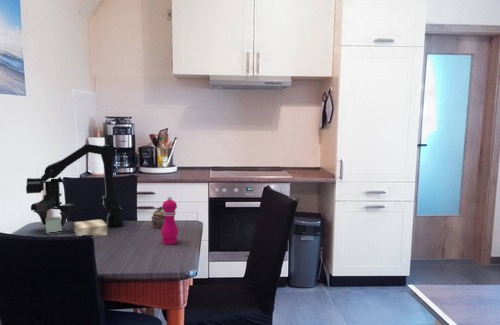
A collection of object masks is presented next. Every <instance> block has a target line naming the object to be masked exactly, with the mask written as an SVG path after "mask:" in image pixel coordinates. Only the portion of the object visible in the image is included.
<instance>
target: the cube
mask: <svg viewBox="0 0 500 325" xmlns="http://www.w3.org/2000/svg"><path fill="white" fill-rule="evenodd" d="M62 227H63V226H62V224H61V216H52V217H47V218H46V225H45V232H46V234H47V233H48V232H56V231H62V232H63V230H62ZM48 234H49V233H48Z"/></svg>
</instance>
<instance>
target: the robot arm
mask: <svg viewBox="0 0 500 325" xmlns="http://www.w3.org/2000/svg"><path fill="white" fill-rule="evenodd" d="M89 153H91V154H96V155H100V157H101V160H102V164H103V172H104V173H103V174H104V175H103V176H104V186H105V187H104V188H105V195H102V196H101V197H102V205H103V207H104V208H105V210H106V211H107V216H106V224H107V227H109V228H116V227H117V228H118V227H123V226H124V223H123V222H124V221H123V216H124V215H123V209H122V208H121V207H122V206H120V205H119V204H118V201H117V197H116V193H115V189H114V188H115V186H114V176H113V175H114V174H113V161H114V160H113V159H114V154H115V153H114V148H113V147H112V146H111V145H109V144H103V145H96V144H90V143H85V144H83V145H82V146H81V147H80V148H78V149H76V150H75V151H73V152H71V153H70V154H69V155H67V156H65V157H64V158H62V159H60V160H58V161H56V162H54V163H51V164H48V165H47V166H46V167H45V170H44V173H43V175H41V177H40V178H39V177H37V178H31V177H27V178H26V187H25V189H26V190H25V191H26V194H41V193H42V191H45V194H44V195H43V198H42V199H41V200H40V201H38V202H34V203H31V205H30V211H33V213H36V214H37V215H38V216H39V218H40V221H41V222H42V225H43V226H46V218H48V212H49V211H50V210H59V211H60V212H59V214H60V218H61V227H64V226H65V225H66V223H67V219H68V217H69V216H70V214H71V213H72V212H73V211H75V210H76V205H75V204H74V203H65V204H62V203H63V202H62V201H60V200H61V196H62V193H61V192H60V191H61V190H60V183H64V182H65V180H64V179H63V178H62V177H61V176H59V175H60V174H62V173H63V171H64V170H66V168H68V167H69V166H70V165H71V164H74V162H77V161H79V160H80V159H81V158H83V157H84V156H86V155H87V154H89ZM56 177H57V178H56ZM49 179H50V180H49Z"/></svg>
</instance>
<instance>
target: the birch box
mask: <svg viewBox="0 0 500 325" xmlns="http://www.w3.org/2000/svg"><path fill="white" fill-rule="evenodd" d="M74 232H75V233H74ZM73 233H74V234H75V236H76V237H77V236H82V235H93V236H94V237H93V238H97V237H103V236H108V224H107V222H105V221H104V220H103V219H90V220H82V221H74V222H73Z"/></svg>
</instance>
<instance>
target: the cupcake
mask: <svg viewBox="0 0 500 325" xmlns="http://www.w3.org/2000/svg"><path fill="white" fill-rule="evenodd" d="M151 222H152V228H153V229H157V230H162V227H163V225H164V222H165V215H164V210H163V208H162V206H159V207H157V208H155V209H154V212H153V213H152V216H151Z"/></svg>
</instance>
